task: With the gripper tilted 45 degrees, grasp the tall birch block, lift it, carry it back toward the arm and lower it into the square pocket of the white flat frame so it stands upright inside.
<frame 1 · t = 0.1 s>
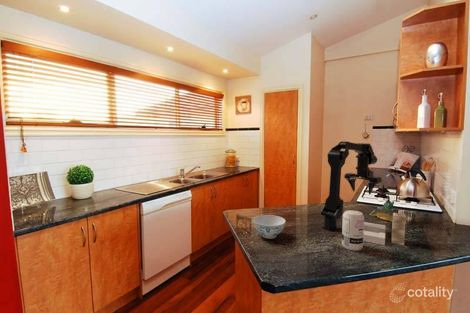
hand: (361, 192, 142), 15 cm above the worktop, fingers open, 9 cm apart
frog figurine: (385, 219, 142), on the worktop
block: (397, 242, 111), on the worktop
chinaware: (269, 236, 118), on the worktop
white flat frame: (370, 235, 119), on the worktop
supplement can: (352, 247, 107), on the worktop
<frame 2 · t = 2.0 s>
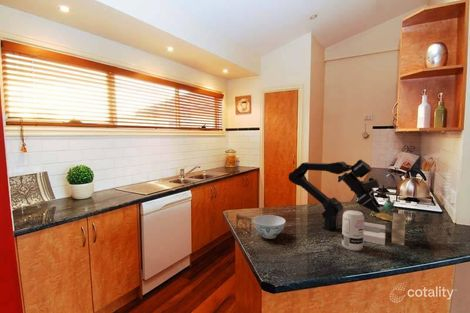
hand: (379, 209, 114), 13 cm above the worktop, fingers open, 9 cm apart
nothing on the worktop moved.
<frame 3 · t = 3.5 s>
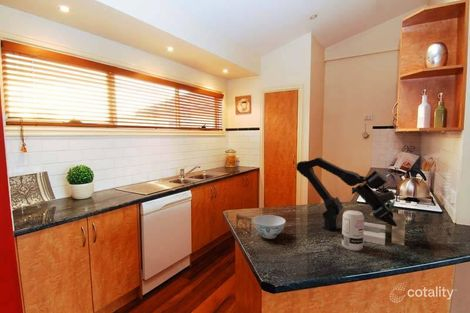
hand: (395, 222, 111), 9 cm above the worktop, fingers open, 9 cm apart
nothing on the worktop moved.
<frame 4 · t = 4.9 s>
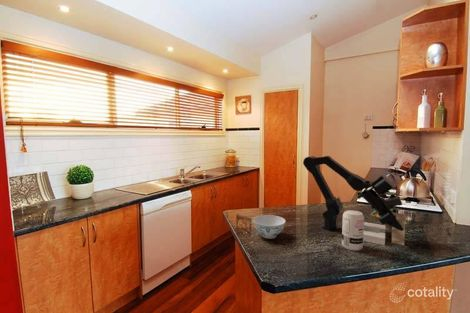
hand: (402, 228, 110), 7 cm above the worktop, fingers closed on block, 4 cm apart
block: (397, 242, 111), on the worktop, touching gripper
everything else where it was.
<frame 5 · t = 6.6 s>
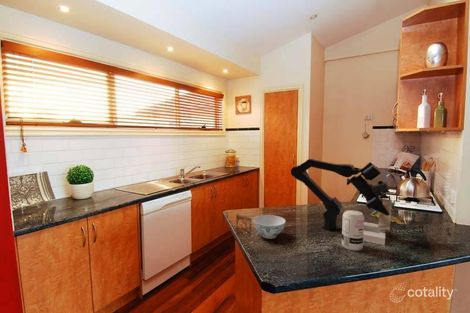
hand: (388, 213, 113), 12 cm above the worktop, fingers closed on block, 4 cm apart
block: (383, 227, 114), point 5 cm above the worktop, touching gripper
everything else where it was.
when the fingers open (8 cm above the worktop, at t = 8.5 s): block drops 1 cm, resting in white flat frame.
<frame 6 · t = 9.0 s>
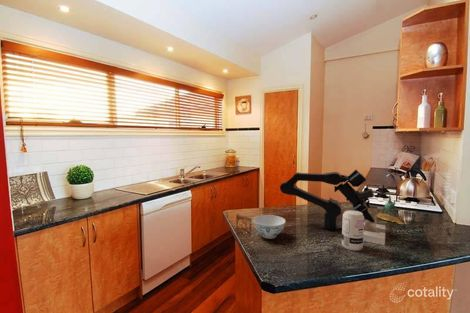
hand: (374, 219, 118), 8 cm above the worktop, fingers open, 9 cm apart
block: (370, 235, 119), resting in white flat frame
everything else where it was.
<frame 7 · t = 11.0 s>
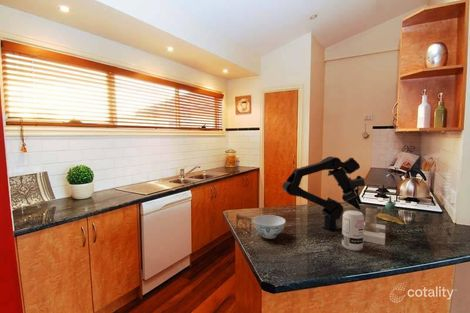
hand: (360, 206, 123), 13 cm above the worktop, fingers open, 9 cm apart
nothing on the worktop moved.
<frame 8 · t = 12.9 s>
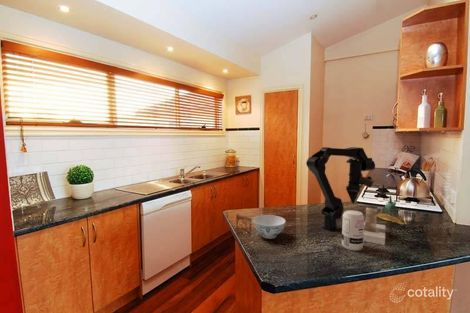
hand: (354, 200, 131), 13 cm above the worktop, fingers open, 9 cm apart
at the end: block 0.0 cm off-centre on the white flat frame, point 0.0 cm above the white flat frame's base; block tilted 0°; the gripper is holding nothing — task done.
